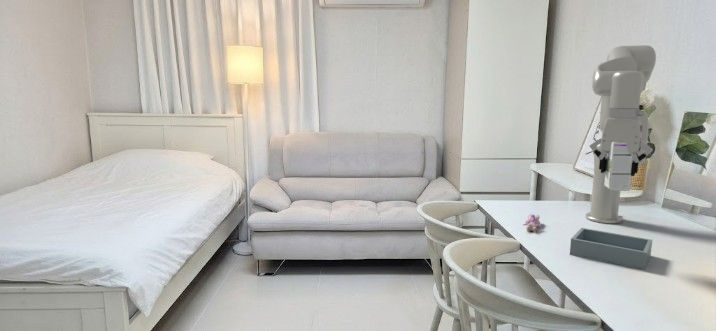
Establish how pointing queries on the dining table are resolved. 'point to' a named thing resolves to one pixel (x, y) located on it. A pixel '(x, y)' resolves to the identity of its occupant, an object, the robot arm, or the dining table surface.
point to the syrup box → (618, 167)
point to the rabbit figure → (532, 223)
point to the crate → (611, 248)
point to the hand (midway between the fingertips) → (617, 173)
